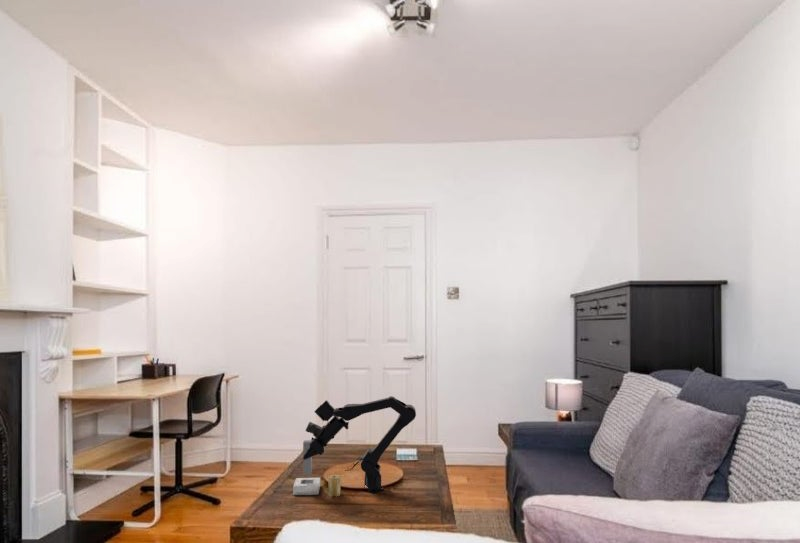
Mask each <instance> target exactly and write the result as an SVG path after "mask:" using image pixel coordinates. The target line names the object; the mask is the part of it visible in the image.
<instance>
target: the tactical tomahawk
mask: <svg viewBox="0 0 800 543" xmlns="http://www.w3.org/2000/svg"><path fill="white" fill-rule="evenodd" d="M360 461H362V456H358V457H357V459H356V460H355V461H354V462H358V463H359V462H360Z"/></svg>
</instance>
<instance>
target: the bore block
mask: <svg viewBox="0 0 800 543" xmlns="http://www.w3.org/2000/svg"><path fill="white" fill-rule="evenodd" d="M320 489H321V477H296V478H295V480H294V483H293V486H292V491H293V492H292V495H293V496H310V495H311V496H312V495H314V496H315V495H319V493H320Z"/></svg>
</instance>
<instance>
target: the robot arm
mask: <svg viewBox="0 0 800 543" xmlns="http://www.w3.org/2000/svg"><path fill="white" fill-rule="evenodd" d="M389 408H391V409H392V410H393V411H394V412H396V413H398V416H397V419H396V421H395V422H394V423H393V424H392V425H391V426H390V428H389V430H388V431H387V432H386V433H385V434H384V436H383V437H382V438H381V439H380V441H379V442H378V443H377V445H376V446H375V447H374V448H372V449H371V448H370V447H368V449H367V450H366V452H365V453H364V454H363V455H362V456H361V457H362V459H361V462H360V469H361V470H362V471H363V472H364V486H365V485H366V486H367V487H368V488H369V489H368V490H367V491H366V492H369V493H371V494H376V493H377V492H380V491H382V490H384V488H385V487H382V474H381V473H380V472H381V467H382V466H381V465H380V464H379V463H378V462H379V461H380V458H381V456H382V455H383V454H384V453H385V451H386V450H387V449H388V448H389V446H390V445H391V444H392V442H393V441H394V440H395V439H396V437H397V436H398V435H399V434H400V432H401V431H402V429H404V428H406V427H407V426H408V425H410V423H412V422H413V421H414V420H415V419H416V416H417V414H416V413H417V412H416V408H415V407H414V406H413V405H412V404H406V403H405V402H404V401H401V400H400V399H397V398H396V397H394V396H388V397H385V398H381V399H377V400H373V401H370V402H369V401H368V402H364V403H347V404H345V405H344V406H342V407H337V408H335V407H333V406H332V405H331V404H330V402H329V400H327V399H326V400H325V401H324V402H323V403H322V404H319V406H318V407H317V408H316V409H315V410H314V413H315V414H316V415H317V416H318V417H319V418H320V419H321V421H322V422H327V423H326V424H325V425H323V426H320V425H318V424H316V423H314V422H311V421H309V422H308V424H307V426H306V428H305V430H304V431H305V432H306V433H310V434H312V436H313V437H311V439H310V440H312V441H311V442H310V448H309V449H308V451H307V452H306V454H305V455H304V457H303V456H302V460H303V459H304V460H305V459H307V458H310V457H312V458H313V457H315V456H317V455H320V456H322V455H323V454H324V453H325V449H326V447H327V446H328V444H329V443H330V441H331V440H333V439H334V438H335V436H336V435H337V434H338V433H340V431H341V430H343V428H345V430H349V423H350V421H352V420H353V419H355V418H358V417H360V416H361V415H364V414H368V413H372V412H376V411H381V410H385V409H389ZM381 487H382V488H381Z"/></svg>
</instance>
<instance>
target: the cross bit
mask: <svg viewBox="0 0 800 543" xmlns="http://www.w3.org/2000/svg"><path fill="white" fill-rule="evenodd" d="M327 482H328V487H327V488H328V490H327V493H328V494H327V495H328V497H330V498H331V497H337V496H338V497H340V496H341V475H340V474H336V475H333V474H330V475H328V480H327Z"/></svg>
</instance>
